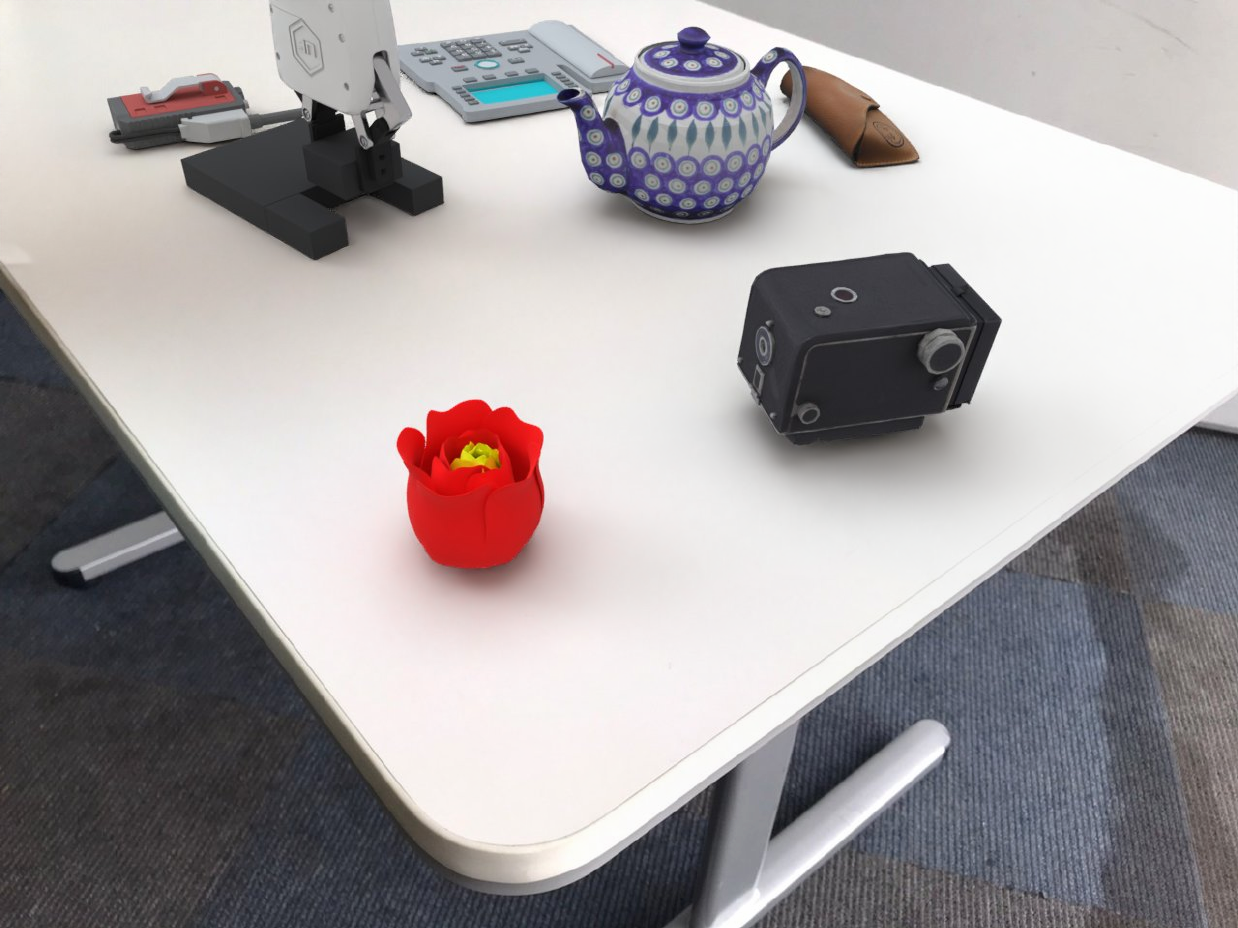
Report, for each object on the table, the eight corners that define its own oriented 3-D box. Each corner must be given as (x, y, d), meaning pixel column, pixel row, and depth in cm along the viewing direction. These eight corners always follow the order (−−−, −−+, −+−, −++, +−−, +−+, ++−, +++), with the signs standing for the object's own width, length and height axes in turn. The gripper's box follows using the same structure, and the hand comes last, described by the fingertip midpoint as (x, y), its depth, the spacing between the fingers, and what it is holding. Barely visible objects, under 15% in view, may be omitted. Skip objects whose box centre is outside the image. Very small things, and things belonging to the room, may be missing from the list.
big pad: (314, 260, 82) (310, 232, 80) (186, 186, 90) (179, 159, 88) (444, 202, 90) (442, 176, 88) (316, 139, 98) (312, 114, 97)
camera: (781, 500, 65) (990, 447, 68) (795, 359, 57) (1030, 305, 60) (721, 399, 73) (911, 354, 75) (726, 262, 65) (938, 218, 67)
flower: (409, 598, 56) (396, 493, 51) (407, 502, 62) (394, 398, 56) (551, 585, 57) (552, 481, 52) (536, 492, 63) (536, 389, 58)
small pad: (346, 201, 82) (341, 166, 80) (307, 180, 84) (301, 146, 82) (403, 177, 86) (400, 143, 84) (364, 158, 88) (360, 124, 86)
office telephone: (570, 12, 122) (658, 70, 110) (570, 34, 124) (656, 94, 111) (385, 34, 113) (457, 101, 100) (387, 58, 114) (458, 127, 102)
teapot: (751, 143, 103) (775, -14, 93) (840, 212, 93) (876, 44, 83) (520, 182, 94) (518, 12, 84) (590, 263, 84) (597, 81, 74)
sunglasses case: (927, 157, 101) (911, 103, 96) (865, 196, 102) (846, 144, 97) (846, 87, 114) (828, 36, 109) (791, 123, 115) (771, 73, 110)
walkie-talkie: (119, 164, 92) (334, 126, 101) (105, 117, 89) (327, 82, 98) (100, 127, 98) (305, 94, 106) (86, 81, 95) (298, 51, 103)
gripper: (208, -78, 74) (254, 157, 86) (359, -22, 67) (387, 228, 79) (293, -95, 79) (326, 132, 91) (444, -44, 71) (459, 196, 83)
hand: (354, 174), depth 85 cm, fingers closed on small pad, 5 cm apart
